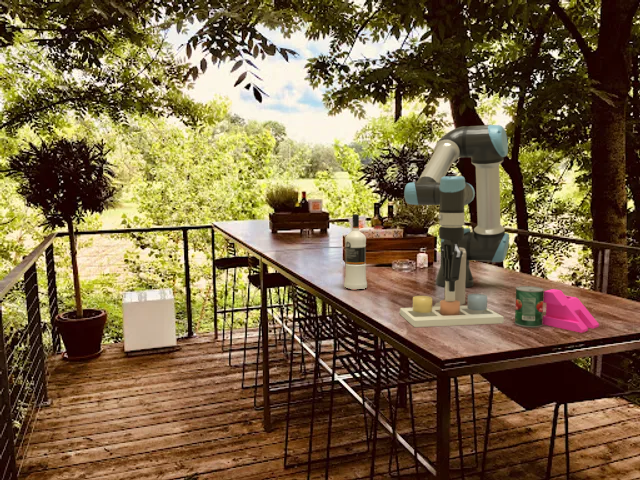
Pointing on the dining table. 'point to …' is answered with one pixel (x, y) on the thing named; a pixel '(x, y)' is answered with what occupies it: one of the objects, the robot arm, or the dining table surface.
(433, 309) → the panel
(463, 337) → the dining table surface
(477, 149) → the robot arm
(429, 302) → the ochre button
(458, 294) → the beige tall tapered piece
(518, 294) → the canned tomato
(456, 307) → the terracotta button
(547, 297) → the bracket
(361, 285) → the vodka
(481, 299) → the slate-blue button
